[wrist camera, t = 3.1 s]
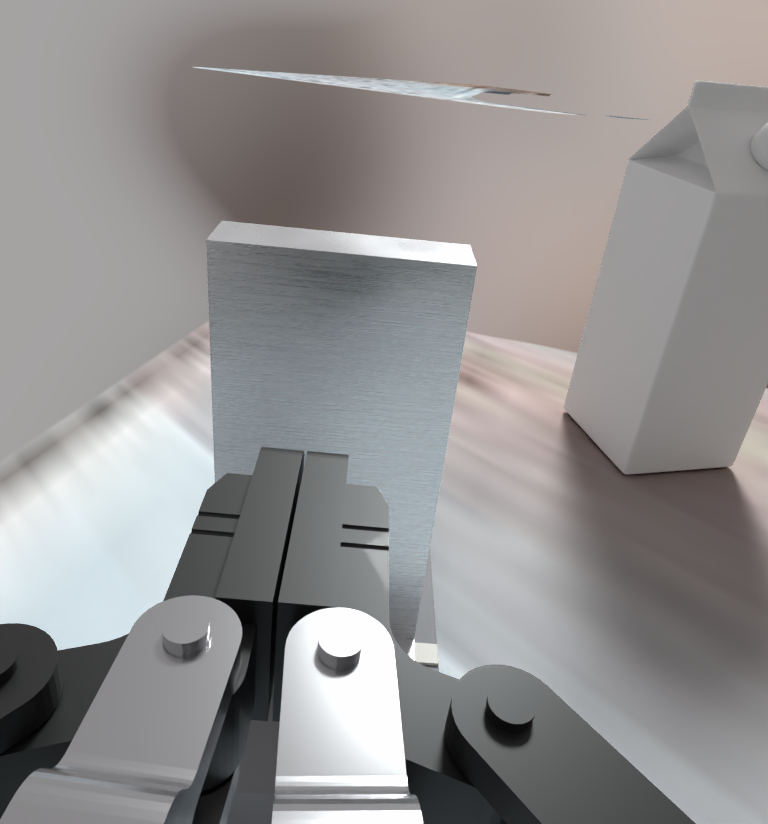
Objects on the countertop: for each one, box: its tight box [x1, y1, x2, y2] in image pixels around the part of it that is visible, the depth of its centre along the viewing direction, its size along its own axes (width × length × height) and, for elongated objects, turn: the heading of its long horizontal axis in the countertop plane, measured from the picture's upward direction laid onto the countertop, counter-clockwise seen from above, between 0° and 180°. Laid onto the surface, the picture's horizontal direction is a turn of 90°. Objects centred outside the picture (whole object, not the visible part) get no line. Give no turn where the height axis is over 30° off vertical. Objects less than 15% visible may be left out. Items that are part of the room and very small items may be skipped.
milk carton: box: [564, 81, 768, 474], centre depth 36 cm, size 7×7×19 cm
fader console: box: [226, 548, 439, 824], centre depth 28 cm, size 22×8×2 cm, turn 179°
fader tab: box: [206, 221, 477, 660], centre depth 19 cm, size 4×6×13 cm, turn 89°
